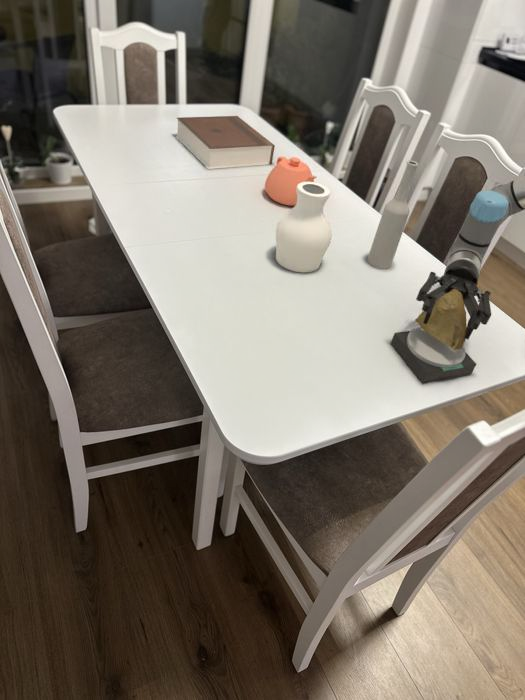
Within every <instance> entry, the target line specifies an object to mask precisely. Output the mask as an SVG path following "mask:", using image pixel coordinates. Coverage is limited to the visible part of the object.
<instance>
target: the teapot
mask: <svg viewBox="0 0 525 700" xmlns="http://www.w3.org/2000/svg"><path fill="white" fill-rule="evenodd" d="M317 177H318V176H316V175H313V173H312V171H311V168H310V166H309V165H308V164H307V163H306V162H304V161H301V159H300V158H299V157H294V156H293V157H289V158H287V157H286V156H282V155H281V156H279V157H278V158H277V159H276V165H274V166H273V168H272V169H271V170H270V172H269V173H268V175H267V177H266V179H265V183H264V190H265V192H266V194H267V195H268V196H269V197H270V199H272V201H274V202H276V203H278V204H280V205H281V204H282V205H285V206H293V207H295V205H296V203H297V192H296V188H297V185H298V184H299V183H302V182H315V179H317Z"/></svg>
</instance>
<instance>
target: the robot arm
mask: <svg viewBox="0 0 525 700" xmlns="http://www.w3.org/2000/svg"><path fill="white" fill-rule="evenodd" d="M524 210H525V174H523V175H522V176H519V177H518V178H515V179H514V180H512V181H509V182H506V183H502V184H499V185H497V186H495V187H493V188H492V189H491V190H487V189H486V190H480V191H479V192H477V193H476V195H475V197H474V199H473V201H472V203H471V204H470V206H469V210H468V212H467V214H466V216H465V219H464V221H463V224H462V226H461V229H460V230H459V233H458V235H457V236H456V239H455V241H454V242H453V244H452V247H450V254H449V257H448V261H447V263H446V267H445V270H444V273H443V275H441V276H438V275H437V273H436V272H435V271H430V272H429V275H428V276H427V279H426V281H425V282H424V283H423V285H422V286H421V287H420V289H419V290H418V293H417V296H416V299H415V300H416V301H418V302H423V303H422V307H421V310H422V312H423V311H425V312H426V315H425V319H424V322H423V323H424V324H427V322H428V320H429V318H430V316H431V313H432V310H433V307H434V304H435V301H437V300H438V299H439V298H440V297H442V296H444V295H445V294H446V293H448V292H450V291H451V290H453V289H457V290H458V291H460V292H461V294H462V296H463V301H464V307H465V310H466V312H467V314H469V319H468V321H467V323H466V324H467V329H466V334H465V340H469V339H470V337H471V335H472V334H473V331H475V330H478V328H479V326H480V325H484V326H485V325H487V324H488V322H489V321H490V320H491V319H490V318H491V317H492V309H491V302H490V296H491V294H492V292H491V291H489V290H485V291H481V290H480V289H479V287H478V282H479V278H480V274H481V267H482V263H483V261H484V260H483V259H484V257H485V256H486V253H487V251H488V249H489V247H490V246H491V243H492V240H493V238H494V236H495V235H496V233H497V231H498V229H499V228H500V226H501V225H502V224H503V223H504V222H505V221H506V220H507V219H508V218H509V217H511V216H513V215H516V214H517V213H518V214H519V213H520V212H523V211H524ZM437 284H439V286H438V287H437V288H435V289H433V290H432V291H430V290H431V289H432V288H433V287H435V285H437ZM476 298H477V299H476Z"/></svg>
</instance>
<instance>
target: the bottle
mask: <svg viewBox="0 0 525 700" xmlns="http://www.w3.org/2000/svg"><path fill="white" fill-rule="evenodd" d="M418 166H419V163H418V162H417V161H415V160H407V161H406V166H405V169H404V172H403V175H402V179H401V180H400V184H399V187H398V189H397V192H396V194H395V196H394V197H393V198H392V199H391V200H389V201H388V202H387V203H386V204H385V205H384V208H383V210H382V213H381V217H380V220H379V223H378V226H377V229H376V231H375V235H374V238H373V241H372V244H371V246H370V249H369V253H368V256H367V262H368V264H370V265H371V266H372V267H374V268H377V269H383V270H384V269H385V270H386V269H389V268H391V266H392V264H393V260H394V258H395V256H396V253H397V250H398V247H399V244H400V242H401V239H402V235H403V233H404V230H405V226H406V224H407V220H408V218H409V216H410V207H409V205H408V201H407V199H408V196H409V193H410V190H411V189H410V188H411V185H412V183H413V179H414V176H415V174H416V171H417V168H418Z"/></svg>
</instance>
